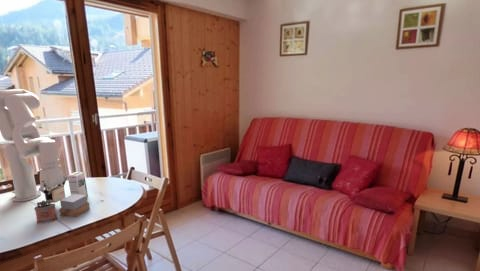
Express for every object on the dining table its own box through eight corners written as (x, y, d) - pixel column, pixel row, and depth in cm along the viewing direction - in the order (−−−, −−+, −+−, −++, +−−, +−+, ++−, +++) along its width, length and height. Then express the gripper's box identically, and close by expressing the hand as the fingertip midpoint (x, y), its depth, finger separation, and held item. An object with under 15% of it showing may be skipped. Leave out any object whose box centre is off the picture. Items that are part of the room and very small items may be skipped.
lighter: (36, 224, 129) (32, 204, 126) (38, 221, 132) (34, 201, 130) (56, 220, 132) (53, 200, 130) (58, 217, 135) (54, 197, 133)
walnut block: (60, 216, 136) (59, 208, 136) (75, 207, 145) (74, 200, 144) (75, 218, 134) (74, 210, 133) (90, 209, 143) (88, 202, 142)
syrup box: (80, 200, 152) (76, 175, 149) (71, 200, 153) (67, 175, 150) (88, 196, 158) (84, 171, 154) (79, 195, 159) (75, 171, 156)
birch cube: (45, 201, 142) (44, 190, 141) (56, 196, 148) (54, 185, 146) (55, 202, 140) (53, 191, 139) (65, 197, 146) (63, 186, 145)
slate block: (61, 208, 136) (60, 200, 135) (75, 200, 144) (74, 193, 143) (74, 209, 134) (73, 202, 133) (87, 202, 141) (86, 195, 141)
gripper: (59, 158, 149) (63, 190, 153) (27, 169, 132) (33, 204, 137) (70, 159, 147) (75, 191, 151) (40, 171, 131) (46, 206, 135)
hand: (55, 197), depth 144 cm, fingers closed on birch cube, 6 cm apart
